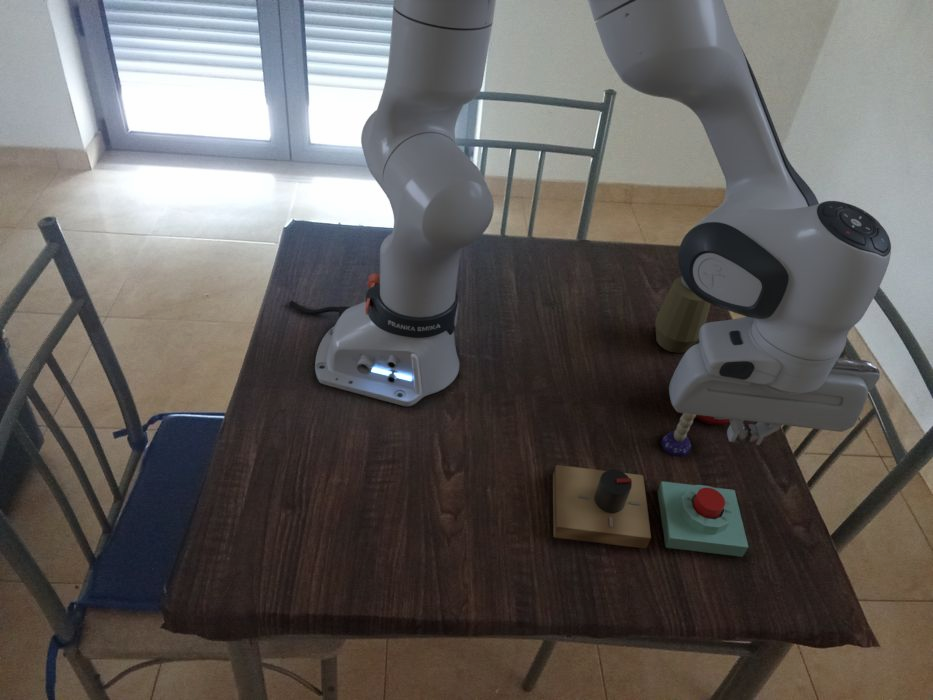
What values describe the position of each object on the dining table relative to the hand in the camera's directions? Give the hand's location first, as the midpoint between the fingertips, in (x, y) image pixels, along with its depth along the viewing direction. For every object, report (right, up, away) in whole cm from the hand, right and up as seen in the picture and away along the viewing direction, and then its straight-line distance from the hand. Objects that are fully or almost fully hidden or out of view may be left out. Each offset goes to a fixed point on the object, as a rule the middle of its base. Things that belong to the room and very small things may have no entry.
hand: (742, 439), depth 83 cm
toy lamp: (-2, -4, +21) cm, 22 cm away
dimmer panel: (-15, -11, +11) cm, 22 cm away
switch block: (-1, -13, +11) cm, 17 cm away
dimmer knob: (-14, -9, +10) cm, 19 cm away
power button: (-1, -10, +9) cm, 13 cm away
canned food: (+6, +1, +28) cm, 29 cm away
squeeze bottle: (+3, +12, +39) cm, 41 cm away
